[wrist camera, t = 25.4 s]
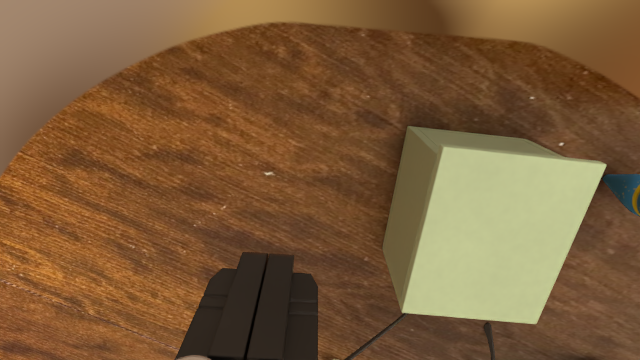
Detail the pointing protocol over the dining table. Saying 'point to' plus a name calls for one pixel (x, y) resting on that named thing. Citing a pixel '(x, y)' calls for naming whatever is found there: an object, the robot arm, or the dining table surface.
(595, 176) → the lid
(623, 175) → the ornament
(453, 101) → the dining table surface
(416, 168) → the box
